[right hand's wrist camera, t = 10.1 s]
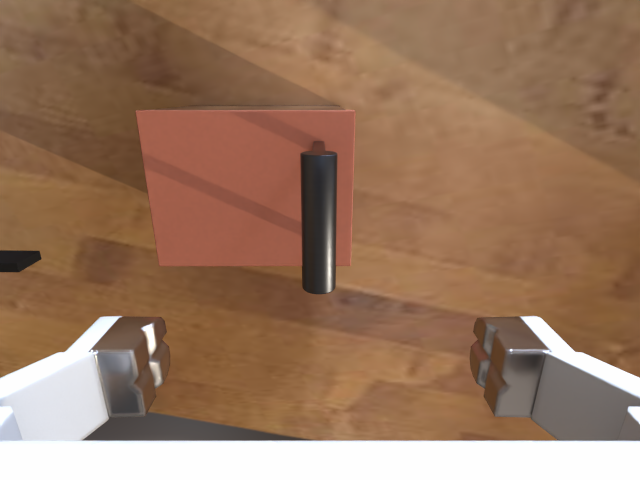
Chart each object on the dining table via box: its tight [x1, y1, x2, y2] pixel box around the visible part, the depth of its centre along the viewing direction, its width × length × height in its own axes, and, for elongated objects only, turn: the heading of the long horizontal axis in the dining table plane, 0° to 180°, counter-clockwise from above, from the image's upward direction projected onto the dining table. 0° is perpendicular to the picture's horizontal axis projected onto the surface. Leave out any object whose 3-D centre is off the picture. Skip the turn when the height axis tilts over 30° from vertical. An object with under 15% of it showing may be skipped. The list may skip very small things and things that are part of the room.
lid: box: [136, 110, 355, 294], centre depth 22 cm, size 13×10×8 cm
